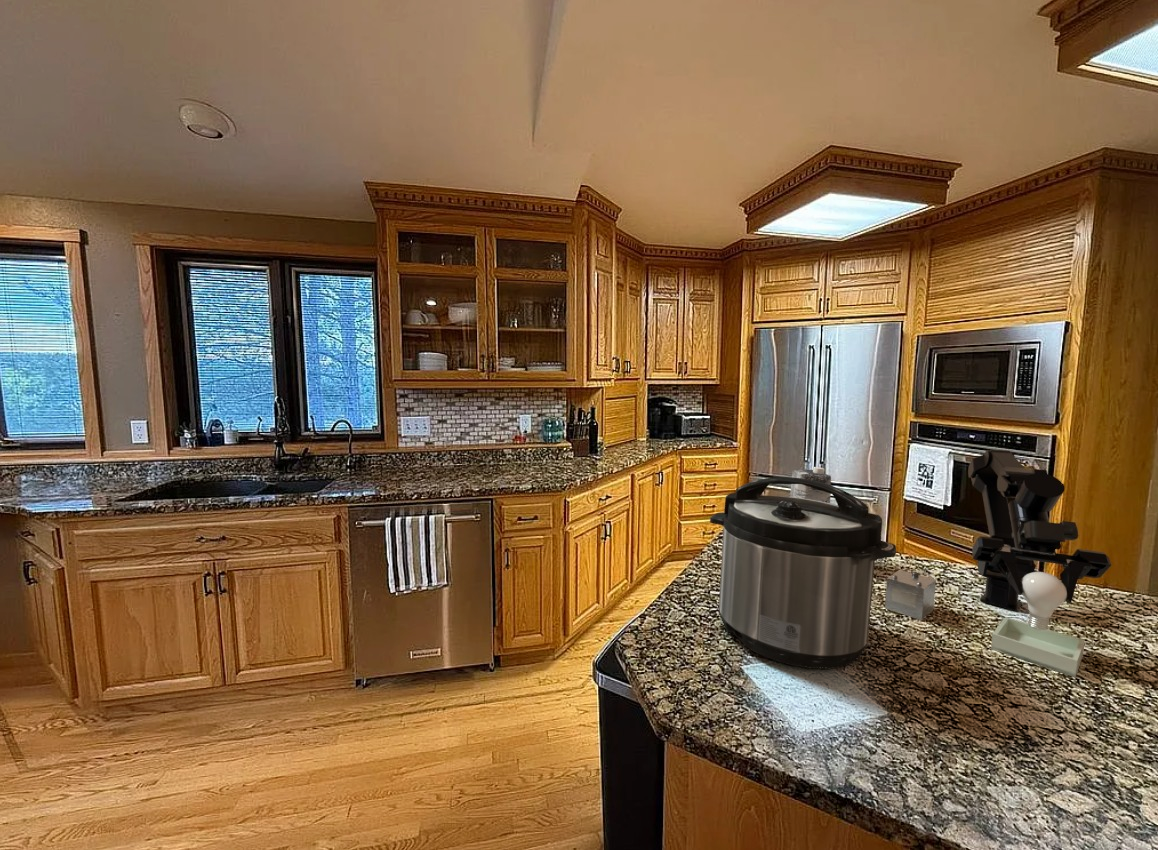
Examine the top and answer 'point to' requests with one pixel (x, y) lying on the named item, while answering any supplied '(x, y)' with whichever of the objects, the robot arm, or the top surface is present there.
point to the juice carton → (809, 492)
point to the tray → (1039, 646)
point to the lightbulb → (1042, 597)
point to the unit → (910, 594)
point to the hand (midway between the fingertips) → (1044, 598)
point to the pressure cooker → (799, 573)
